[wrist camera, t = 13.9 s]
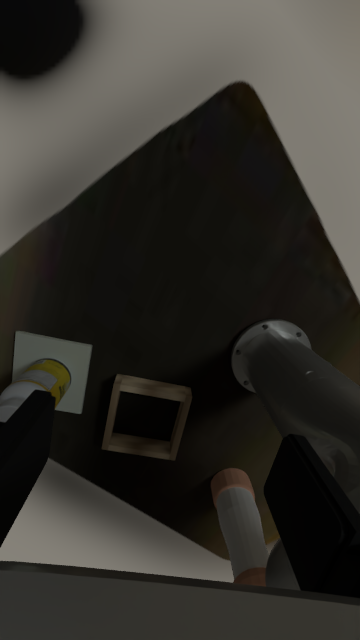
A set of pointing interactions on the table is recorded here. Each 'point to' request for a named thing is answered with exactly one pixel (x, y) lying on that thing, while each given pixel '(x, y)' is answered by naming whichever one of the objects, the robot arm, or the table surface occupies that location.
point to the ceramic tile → (65, 351)
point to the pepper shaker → (240, 525)
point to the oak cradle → (140, 443)
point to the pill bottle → (35, 385)
